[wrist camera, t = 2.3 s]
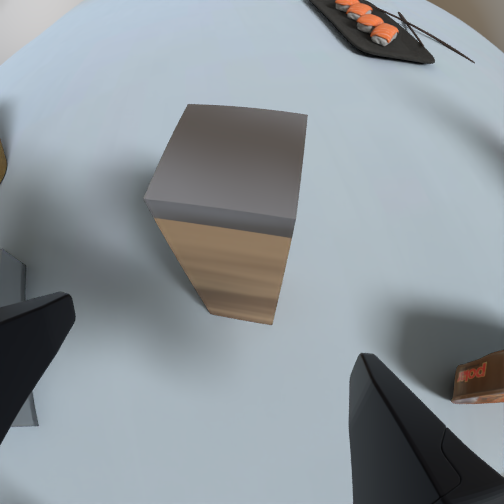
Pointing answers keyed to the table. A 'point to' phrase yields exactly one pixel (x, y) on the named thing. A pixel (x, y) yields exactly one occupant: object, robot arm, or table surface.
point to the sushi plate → (376, 30)
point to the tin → (480, 380)
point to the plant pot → (2, 162)
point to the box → (9, 292)
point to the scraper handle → (231, 203)
